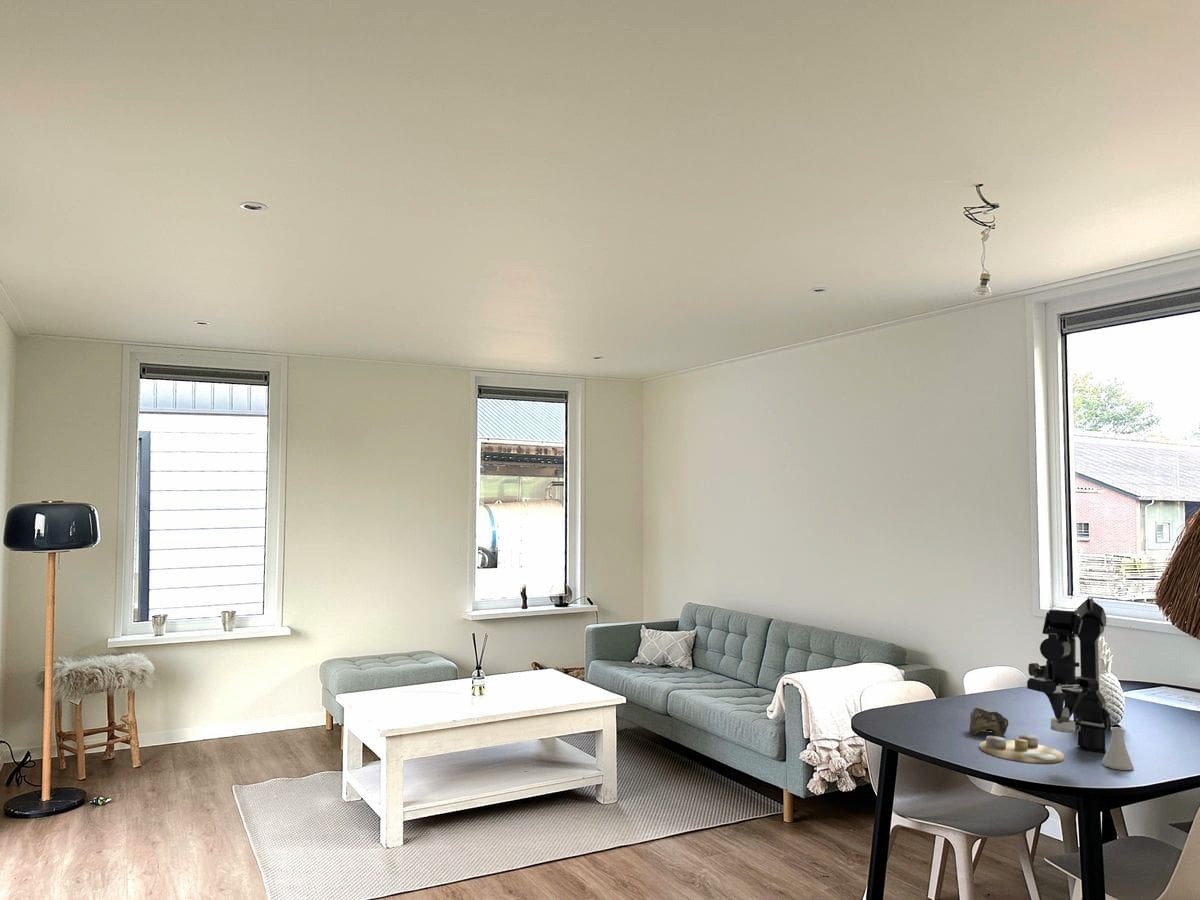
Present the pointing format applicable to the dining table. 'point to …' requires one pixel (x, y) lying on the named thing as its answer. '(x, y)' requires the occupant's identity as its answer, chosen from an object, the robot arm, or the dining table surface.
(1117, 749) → the flask
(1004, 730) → the fossil
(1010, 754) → the carrier plate
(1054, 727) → the silver metal knob
